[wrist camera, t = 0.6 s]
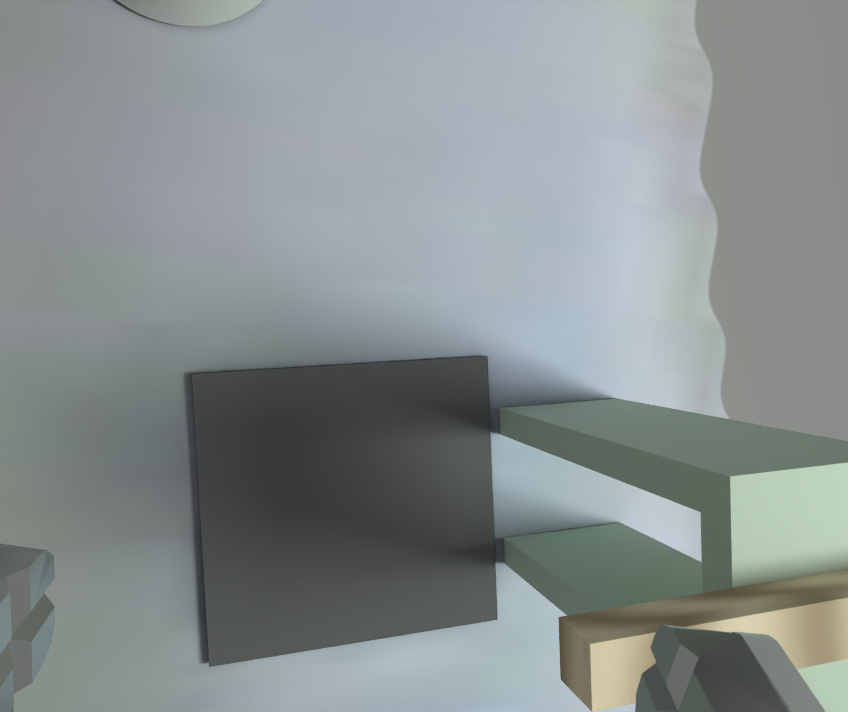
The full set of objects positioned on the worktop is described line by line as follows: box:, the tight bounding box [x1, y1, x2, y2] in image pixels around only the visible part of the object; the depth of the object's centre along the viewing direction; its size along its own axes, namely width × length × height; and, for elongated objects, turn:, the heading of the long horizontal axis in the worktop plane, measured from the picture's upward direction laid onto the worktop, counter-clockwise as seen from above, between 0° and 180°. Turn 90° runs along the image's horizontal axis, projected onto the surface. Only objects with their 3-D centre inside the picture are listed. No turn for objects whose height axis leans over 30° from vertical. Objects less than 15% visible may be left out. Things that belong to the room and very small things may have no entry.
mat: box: [192, 356, 497, 667], centre depth 52 cm, size 20×21×1 cm
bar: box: [559, 569, 848, 712], centre depth 30 cm, size 19×2×2 cm, turn 93°
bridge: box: [499, 399, 848, 712], centre depth 45 cm, size 12×10×26 cm
